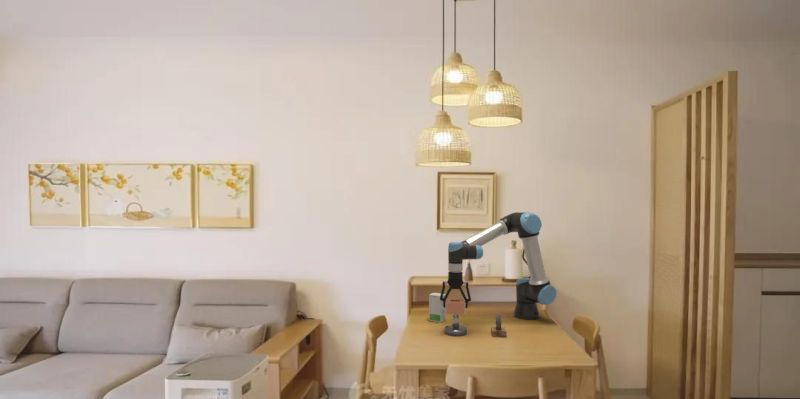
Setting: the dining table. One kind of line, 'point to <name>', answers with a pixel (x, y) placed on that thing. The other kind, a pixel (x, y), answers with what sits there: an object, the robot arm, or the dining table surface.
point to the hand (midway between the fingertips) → (455, 313)
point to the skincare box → (436, 308)
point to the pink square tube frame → (455, 306)
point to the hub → (455, 328)
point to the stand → (498, 328)
